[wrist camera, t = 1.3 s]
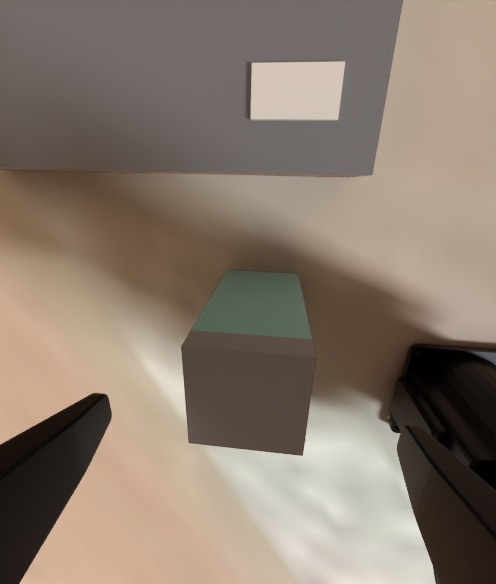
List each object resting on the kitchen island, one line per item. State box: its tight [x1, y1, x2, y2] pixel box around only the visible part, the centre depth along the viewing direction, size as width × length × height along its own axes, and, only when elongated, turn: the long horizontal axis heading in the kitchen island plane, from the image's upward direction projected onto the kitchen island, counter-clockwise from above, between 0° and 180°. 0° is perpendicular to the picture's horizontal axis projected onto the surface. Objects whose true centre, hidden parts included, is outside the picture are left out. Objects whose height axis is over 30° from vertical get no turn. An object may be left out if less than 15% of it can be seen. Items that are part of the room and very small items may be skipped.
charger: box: [181, 270, 316, 456], centre depth 13 cm, size 4×4×8 cm
